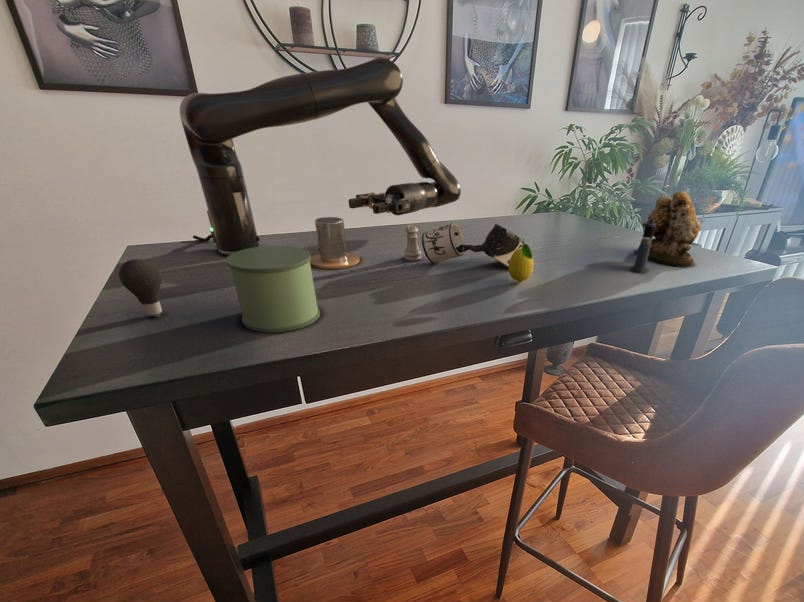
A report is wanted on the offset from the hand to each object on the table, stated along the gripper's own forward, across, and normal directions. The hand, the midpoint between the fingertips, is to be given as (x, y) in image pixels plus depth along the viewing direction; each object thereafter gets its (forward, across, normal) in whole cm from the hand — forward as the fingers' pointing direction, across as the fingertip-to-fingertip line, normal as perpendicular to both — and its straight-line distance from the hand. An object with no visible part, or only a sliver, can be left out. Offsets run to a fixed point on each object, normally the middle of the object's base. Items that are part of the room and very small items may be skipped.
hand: (361, 206), depth 109 cm
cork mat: (+10, 0, +11) cm, 15 cm away
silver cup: (+10, 0, +11) cm, 15 cm away
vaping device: (-35, +61, +11) cm, 72 cm away
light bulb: (+51, +2, +12) cm, 53 cm away
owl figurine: (-51, +63, +11) cm, 82 cm away
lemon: (-6, +43, +11) cm, 45 cm away
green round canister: (+38, +18, +11) cm, 44 cm away
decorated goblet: (-10, +26, +11) cm, 30 cm away
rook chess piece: (-4, +13, +11) cm, 18 cm away
